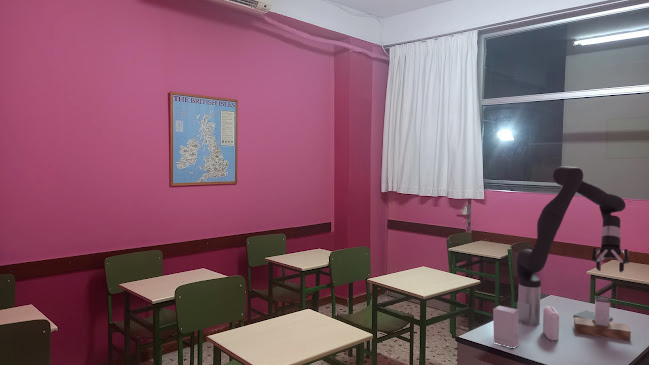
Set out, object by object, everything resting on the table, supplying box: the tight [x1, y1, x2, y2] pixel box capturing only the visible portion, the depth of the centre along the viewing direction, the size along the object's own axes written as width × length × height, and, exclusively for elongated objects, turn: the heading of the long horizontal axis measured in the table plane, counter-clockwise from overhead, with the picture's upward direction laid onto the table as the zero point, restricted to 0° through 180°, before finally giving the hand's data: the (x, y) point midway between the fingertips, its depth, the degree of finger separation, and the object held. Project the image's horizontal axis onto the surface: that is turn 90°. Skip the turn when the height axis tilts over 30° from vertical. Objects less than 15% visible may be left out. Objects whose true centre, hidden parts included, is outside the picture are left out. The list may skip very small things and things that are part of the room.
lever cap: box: [594, 296, 610, 328], centre depth 195 cm, size 5×6×12 cm
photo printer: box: [542, 305, 560, 341], centre depth 191 cm, size 10×4×12 cm, turn 169°
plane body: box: [573, 317, 632, 342], centre depth 195 cm, size 20×9×4 cm, turn 64°
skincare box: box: [492, 305, 520, 348], centre depth 182 cm, size 8×6×15 cm
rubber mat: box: [572, 310, 614, 322], centre depth 213 cm, size 12×12×1 cm
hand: (609, 271), depth 205 cm, fingers open, 8 cm apart
